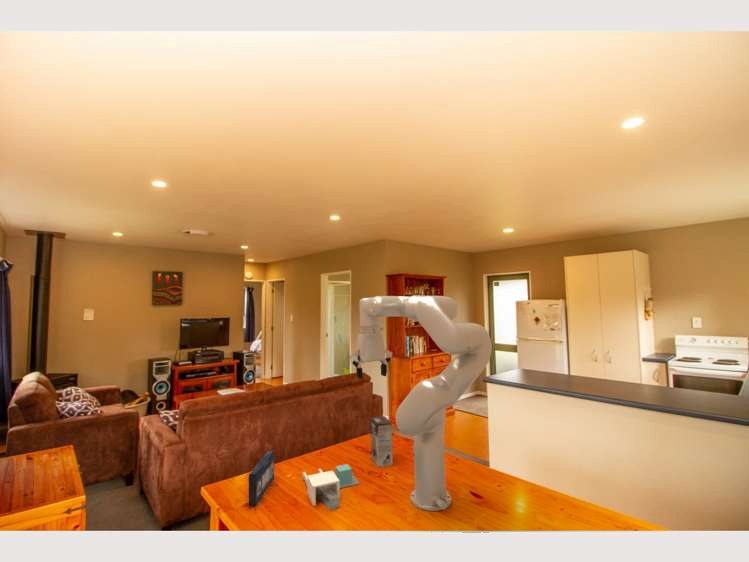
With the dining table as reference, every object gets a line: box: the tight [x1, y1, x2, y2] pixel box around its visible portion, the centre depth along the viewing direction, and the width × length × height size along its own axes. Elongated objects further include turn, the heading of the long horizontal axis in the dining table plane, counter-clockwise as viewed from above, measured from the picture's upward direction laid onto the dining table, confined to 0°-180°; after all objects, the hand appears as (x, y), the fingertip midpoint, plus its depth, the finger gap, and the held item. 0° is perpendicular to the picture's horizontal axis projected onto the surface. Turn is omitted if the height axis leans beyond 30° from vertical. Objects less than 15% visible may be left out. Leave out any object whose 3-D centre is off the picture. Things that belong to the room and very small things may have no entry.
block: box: [334, 463, 353, 485], centre depth 126 cm, size 4×4×4 cm
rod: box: [316, 485, 340, 511], centre depth 115 cm, size 14×3×4 cm, turn 32°
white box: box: [302, 468, 341, 507], centre depth 122 cm, size 20×9×6 cm, turn 23°
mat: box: [340, 473, 361, 489], centre depth 127 cm, size 9×9×1 cm
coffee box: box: [369, 415, 394, 468], centre depth 143 cm, size 9×6×16 cm
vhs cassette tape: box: [247, 450, 275, 508], centre depth 121 cm, size 18×3×10 cm, turn 176°
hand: (372, 377), depth 133 cm, fingers open, 9 cm apart
